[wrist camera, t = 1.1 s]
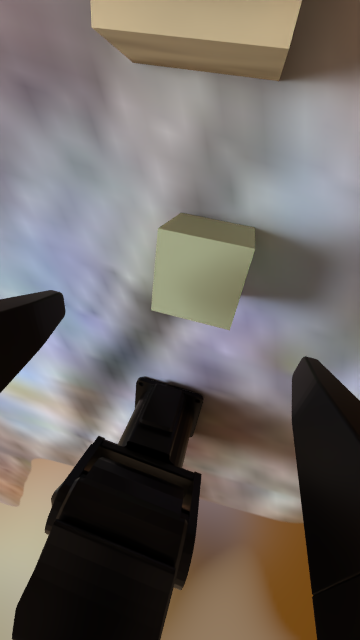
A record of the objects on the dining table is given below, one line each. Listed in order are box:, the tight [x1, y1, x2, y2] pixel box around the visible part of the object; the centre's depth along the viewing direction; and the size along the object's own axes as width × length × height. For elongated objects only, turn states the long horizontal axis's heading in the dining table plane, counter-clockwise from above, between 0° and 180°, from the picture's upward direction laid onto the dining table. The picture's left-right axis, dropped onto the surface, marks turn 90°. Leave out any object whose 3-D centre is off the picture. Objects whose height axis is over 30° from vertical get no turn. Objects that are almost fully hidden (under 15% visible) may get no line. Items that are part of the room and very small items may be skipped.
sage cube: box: [151, 213, 255, 330], centre depth 14 cm, size 4×4×4 cm
